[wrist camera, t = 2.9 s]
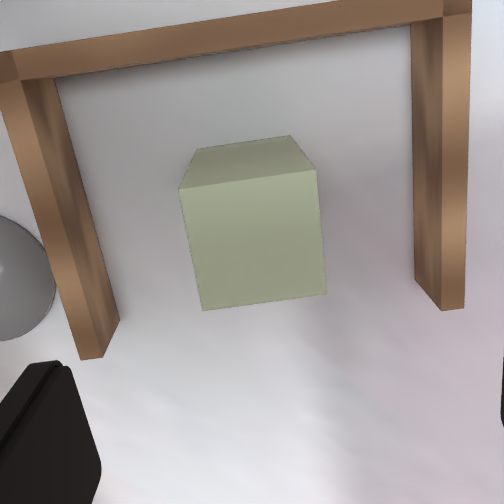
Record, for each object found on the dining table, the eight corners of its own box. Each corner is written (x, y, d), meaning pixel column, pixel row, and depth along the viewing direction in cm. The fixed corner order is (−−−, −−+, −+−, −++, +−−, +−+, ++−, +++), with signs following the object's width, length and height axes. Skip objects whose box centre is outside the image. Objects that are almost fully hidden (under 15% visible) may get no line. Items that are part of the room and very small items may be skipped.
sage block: (197, 148, 26) (178, 189, 17) (290, 135, 26) (315, 169, 17) (212, 235, 27) (202, 310, 19) (299, 223, 27) (327, 293, 19)
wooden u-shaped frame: (22, 56, 24) (-17, 54, 20) (434, -7, 23) (472, -21, 20) (100, 323, 29) (80, 360, 26) (434, 276, 29) (464, 308, 25)
